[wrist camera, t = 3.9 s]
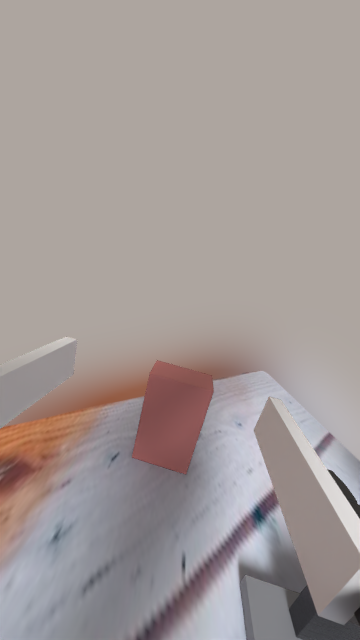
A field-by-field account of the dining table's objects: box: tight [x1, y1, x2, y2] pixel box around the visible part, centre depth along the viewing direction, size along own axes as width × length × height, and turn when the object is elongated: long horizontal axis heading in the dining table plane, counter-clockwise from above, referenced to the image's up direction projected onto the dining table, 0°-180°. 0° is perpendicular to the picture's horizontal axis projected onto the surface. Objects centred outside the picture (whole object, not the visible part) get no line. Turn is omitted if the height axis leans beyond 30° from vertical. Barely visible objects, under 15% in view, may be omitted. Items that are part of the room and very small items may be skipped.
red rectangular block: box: [132, 360, 214, 474], centre depth 24 cm, size 8×4×14 cm, turn 82°
